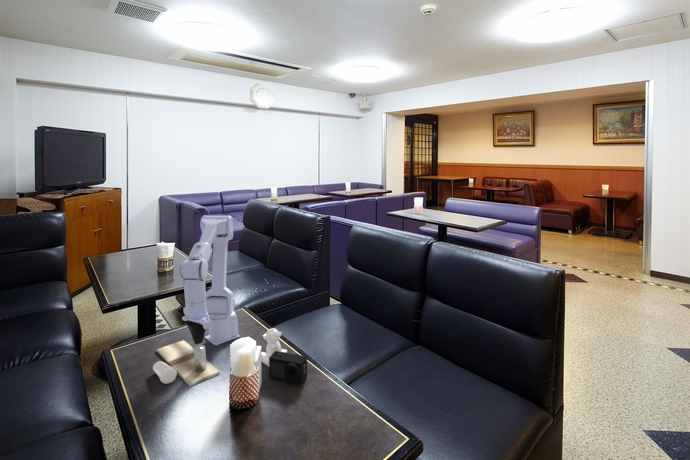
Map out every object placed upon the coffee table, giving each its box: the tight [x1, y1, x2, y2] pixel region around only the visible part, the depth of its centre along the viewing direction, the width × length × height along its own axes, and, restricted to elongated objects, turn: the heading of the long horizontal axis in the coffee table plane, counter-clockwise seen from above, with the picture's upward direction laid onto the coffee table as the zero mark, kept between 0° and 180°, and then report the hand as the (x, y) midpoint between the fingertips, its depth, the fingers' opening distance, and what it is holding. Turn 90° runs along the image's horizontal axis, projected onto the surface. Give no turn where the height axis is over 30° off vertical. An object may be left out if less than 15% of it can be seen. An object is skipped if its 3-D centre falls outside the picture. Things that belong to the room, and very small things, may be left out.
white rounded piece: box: [152, 360, 179, 385], centre depth 111 cm, size 4×5×10 cm
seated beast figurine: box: [261, 327, 288, 368], centre depth 119 cm, size 10×9×12 cm
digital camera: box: [268, 351, 308, 386], centre depth 111 cm, size 10×5×7 cm, turn 73°
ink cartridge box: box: [244, 336, 263, 401], centre depth 104 cm, size 9×5×15 cm, turn 5°
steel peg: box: [193, 344, 207, 372], centre depth 114 cm, size 3×3×7 cm
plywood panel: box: [156, 340, 220, 387], centre depth 119 cm, size 9×26×1 cm, turn 45°
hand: (198, 342), depth 113 cm, fingers closed
